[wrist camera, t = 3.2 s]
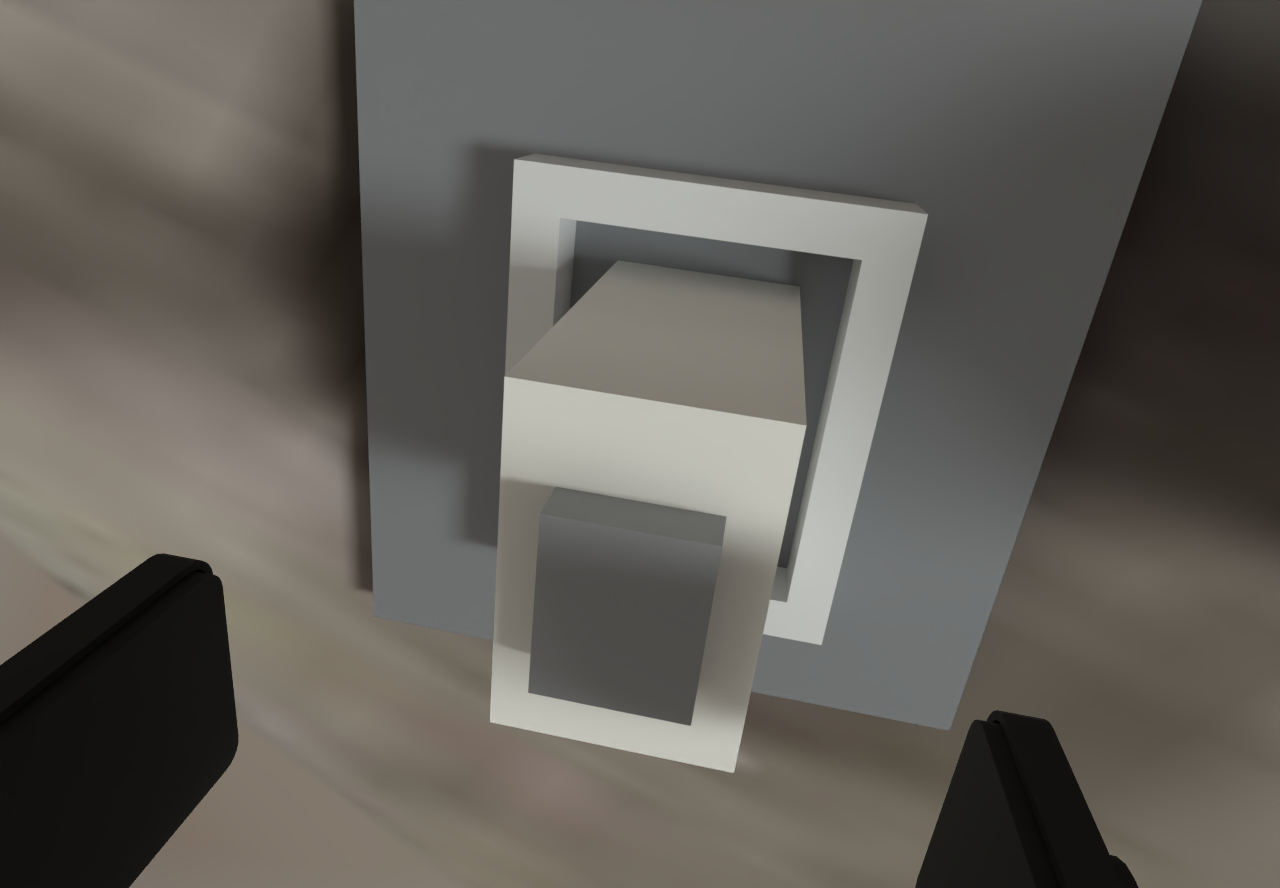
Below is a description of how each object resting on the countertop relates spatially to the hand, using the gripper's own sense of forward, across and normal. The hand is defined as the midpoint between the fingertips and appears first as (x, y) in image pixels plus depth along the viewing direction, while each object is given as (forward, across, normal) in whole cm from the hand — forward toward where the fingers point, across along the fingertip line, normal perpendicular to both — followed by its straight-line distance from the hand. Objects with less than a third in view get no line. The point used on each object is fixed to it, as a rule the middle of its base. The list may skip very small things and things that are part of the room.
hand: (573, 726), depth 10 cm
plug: (+10, 0, -1) cm, 10 cm away
